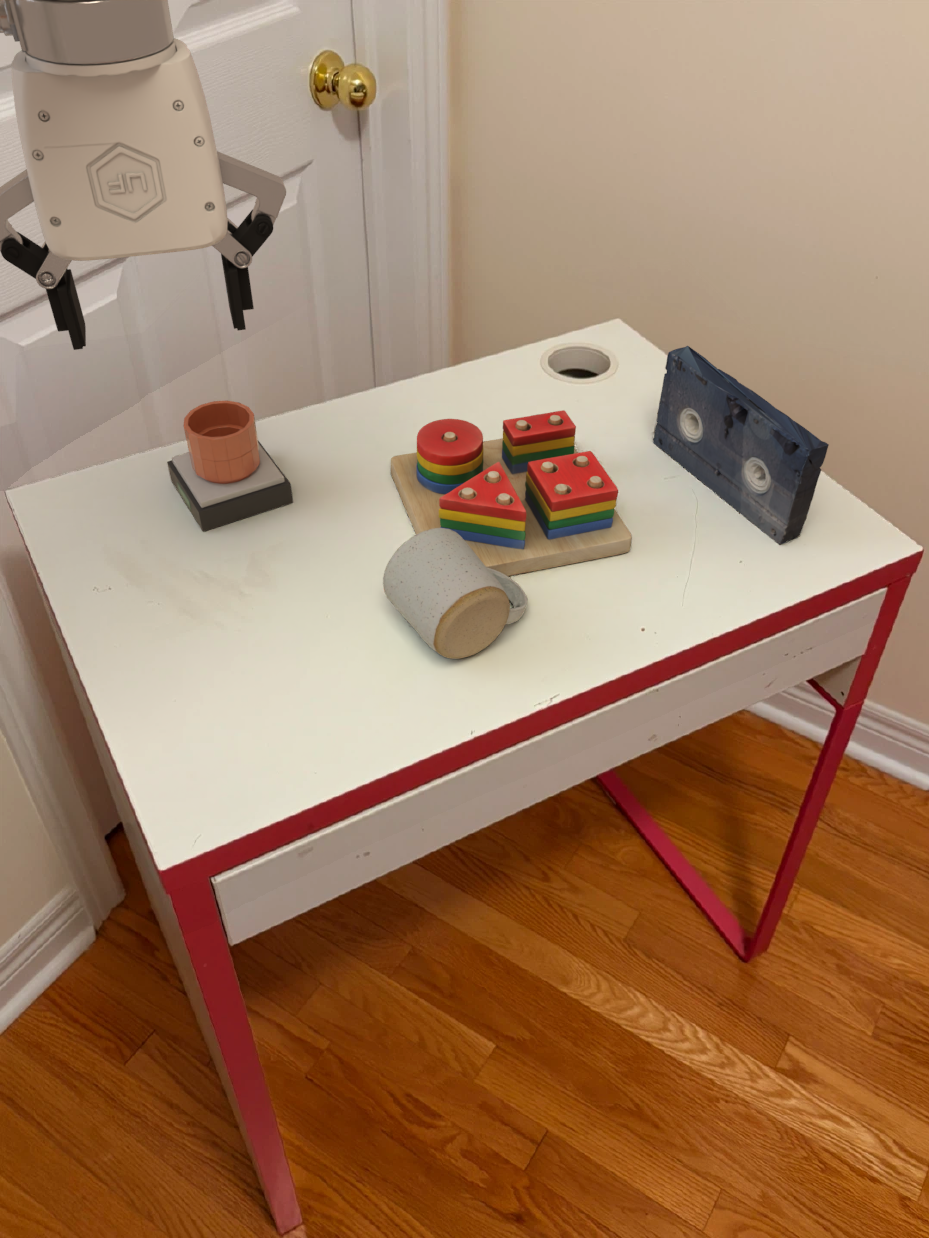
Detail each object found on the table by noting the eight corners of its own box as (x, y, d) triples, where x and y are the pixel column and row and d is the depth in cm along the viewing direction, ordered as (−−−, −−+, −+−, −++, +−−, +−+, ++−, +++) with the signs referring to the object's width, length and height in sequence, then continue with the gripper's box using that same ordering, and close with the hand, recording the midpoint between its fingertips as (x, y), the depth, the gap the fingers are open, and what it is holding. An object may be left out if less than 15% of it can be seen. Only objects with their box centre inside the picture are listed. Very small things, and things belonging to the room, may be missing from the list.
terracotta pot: (181, 480, 93) (171, 433, 89) (210, 443, 97) (202, 396, 94) (244, 491, 92) (236, 444, 88) (271, 453, 96) (264, 406, 93)
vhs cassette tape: (802, 538, 93) (831, 444, 86) (776, 548, 91) (803, 454, 85) (675, 433, 104) (691, 343, 97) (651, 441, 103) (665, 351, 96)
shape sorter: (632, 553, 91) (641, 497, 87) (439, 591, 87) (438, 534, 83) (560, 441, 103) (565, 387, 99) (388, 470, 99) (386, 415, 95)
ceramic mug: (436, 680, 80) (437, 606, 74) (382, 617, 85) (379, 543, 79) (548, 628, 84) (556, 555, 79) (490, 571, 89) (494, 499, 84)
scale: (202, 532, 92) (197, 507, 90) (170, 481, 98) (164, 456, 96) (293, 502, 95) (290, 477, 93) (257, 454, 101) (253, 430, 99)
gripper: (-95, 57, 49) (11, 378, 61) (275, 33, 52) (307, 342, 64) (-79, 13, 54) (16, 317, 66) (257, -6, 58) (290, 286, 70)
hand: (160, 329), depth 65 cm, fingers open, 9 cm apart
